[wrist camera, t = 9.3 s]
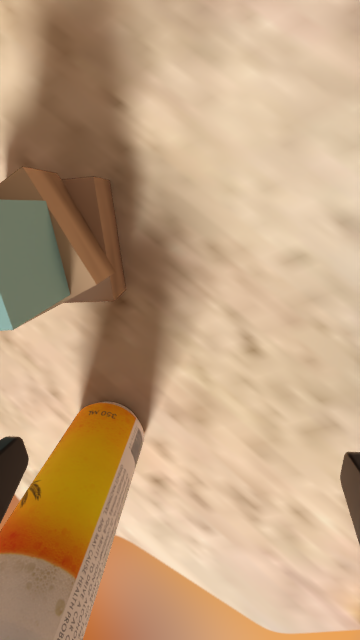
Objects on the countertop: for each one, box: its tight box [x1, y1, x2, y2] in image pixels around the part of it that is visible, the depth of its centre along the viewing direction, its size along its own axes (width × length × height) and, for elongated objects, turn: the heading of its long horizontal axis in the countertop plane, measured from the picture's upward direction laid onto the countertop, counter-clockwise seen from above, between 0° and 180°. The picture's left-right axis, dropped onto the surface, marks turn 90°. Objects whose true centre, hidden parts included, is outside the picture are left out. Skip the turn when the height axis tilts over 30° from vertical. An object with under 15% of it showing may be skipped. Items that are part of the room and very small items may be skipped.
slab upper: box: [0, 167, 116, 326], centre depth 16 cm, size 6×6×3 cm
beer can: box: [0, 402, 144, 640], centre depth 18 cm, size 6×6×15 cm
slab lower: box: [62, 176, 126, 303], centre depth 18 cm, size 7×7×3 cm
